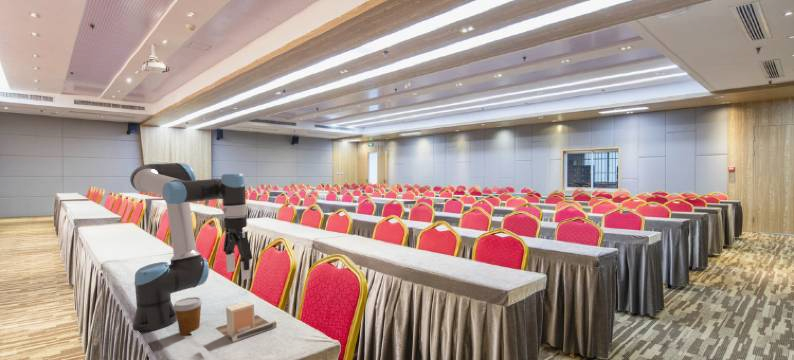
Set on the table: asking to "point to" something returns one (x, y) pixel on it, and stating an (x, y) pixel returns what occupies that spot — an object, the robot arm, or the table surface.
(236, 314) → the carton
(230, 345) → the table surface
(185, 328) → the disposable coffee cup
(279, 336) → the table surface
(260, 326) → the shelf board
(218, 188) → the robot arm
